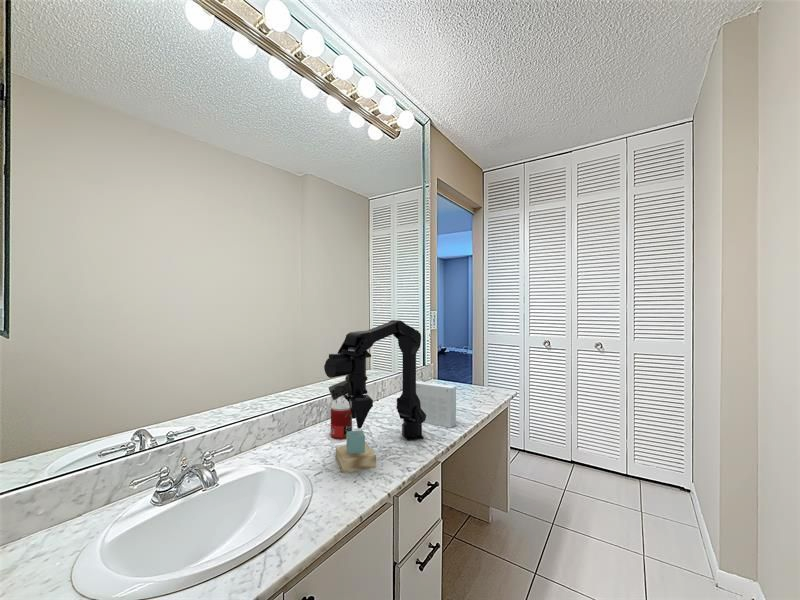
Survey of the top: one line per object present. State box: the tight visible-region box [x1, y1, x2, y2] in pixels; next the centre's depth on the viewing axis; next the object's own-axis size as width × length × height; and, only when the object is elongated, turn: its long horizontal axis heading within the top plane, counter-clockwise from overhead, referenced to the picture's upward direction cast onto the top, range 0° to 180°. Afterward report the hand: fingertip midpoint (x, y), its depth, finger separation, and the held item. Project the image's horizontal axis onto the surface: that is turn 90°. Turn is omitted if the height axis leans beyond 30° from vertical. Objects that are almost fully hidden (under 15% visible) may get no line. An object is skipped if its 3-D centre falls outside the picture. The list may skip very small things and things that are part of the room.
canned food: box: [330, 402, 353, 440], centre depth 125 cm, size 8×8×11 cm
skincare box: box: [416, 380, 457, 429], centre depth 141 cm, size 21×5×16 cm, turn 58°
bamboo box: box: [335, 441, 377, 474], centre depth 103 cm, size 10×10×4 cm
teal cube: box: [345, 429, 366, 454], centre depth 103 cm, size 5×5×5 cm
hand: (356, 423), depth 104 cm, fingers open, 9 cm apart
